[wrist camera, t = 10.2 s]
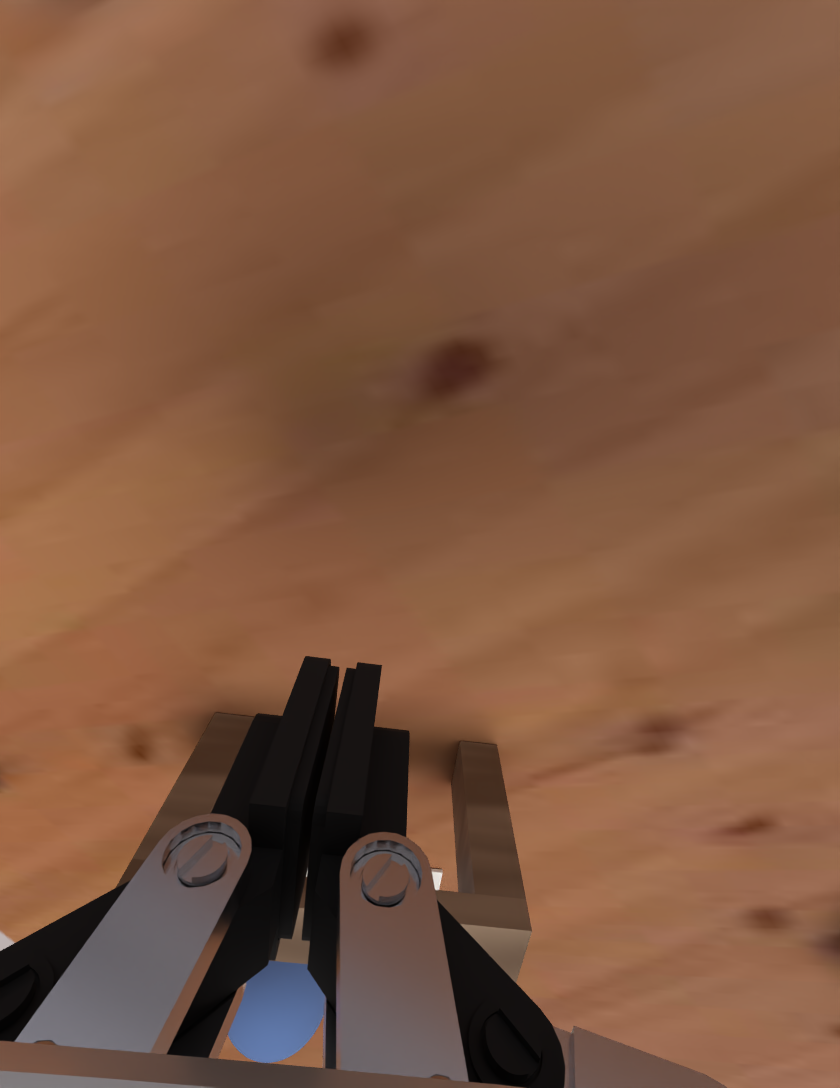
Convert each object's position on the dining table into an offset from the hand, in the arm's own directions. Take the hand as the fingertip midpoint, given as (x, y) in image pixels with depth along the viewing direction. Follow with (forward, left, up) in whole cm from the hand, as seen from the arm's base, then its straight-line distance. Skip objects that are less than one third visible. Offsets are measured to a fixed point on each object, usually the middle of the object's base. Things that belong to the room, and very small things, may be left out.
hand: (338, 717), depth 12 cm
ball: (+28, -3, -10) cm, 30 cm away
